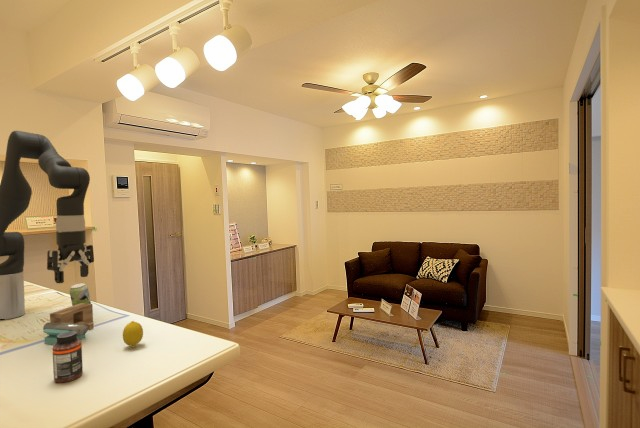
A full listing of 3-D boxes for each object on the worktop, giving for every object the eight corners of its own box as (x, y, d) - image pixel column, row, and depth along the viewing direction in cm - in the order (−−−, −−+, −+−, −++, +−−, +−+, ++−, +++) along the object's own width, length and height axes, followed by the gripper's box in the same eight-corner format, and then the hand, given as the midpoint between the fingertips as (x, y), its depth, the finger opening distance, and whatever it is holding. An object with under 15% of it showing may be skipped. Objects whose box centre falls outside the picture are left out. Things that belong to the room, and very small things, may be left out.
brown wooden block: (50, 333, 115) (49, 313, 114) (81, 321, 127) (80, 303, 126) (76, 336, 113) (75, 315, 113) (105, 323, 125) (105, 304, 124)
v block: (43, 344, 106) (42, 329, 106) (63, 335, 113) (63, 322, 113) (67, 346, 105) (66, 331, 104) (86, 337, 111) (85, 323, 111)
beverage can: (95, 310, 139) (94, 281, 139) (81, 316, 132) (80, 286, 132) (81, 310, 140) (80, 281, 140) (66, 316, 133) (65, 286, 132)
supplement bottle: (64, 372, 89) (62, 329, 88) (87, 371, 89) (86, 328, 89) (47, 384, 83) (46, 339, 82) (73, 383, 83) (71, 338, 83)
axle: (43, 333, 109) (42, 324, 108) (52, 329, 112) (51, 320, 111) (80, 336, 106) (79, 326, 106) (88, 332, 109) (88, 323, 109)
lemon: (147, 344, 106) (146, 319, 106) (132, 351, 101) (131, 325, 100) (134, 342, 108) (133, 317, 107) (118, 349, 102) (117, 323, 102)
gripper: (80, 227, 115) (82, 274, 116) (38, 231, 101) (40, 284, 102) (99, 227, 114) (100, 275, 115) (59, 231, 100) (61, 286, 101)
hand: (72, 279), depth 108 cm, fingers open, 8 cm apart
